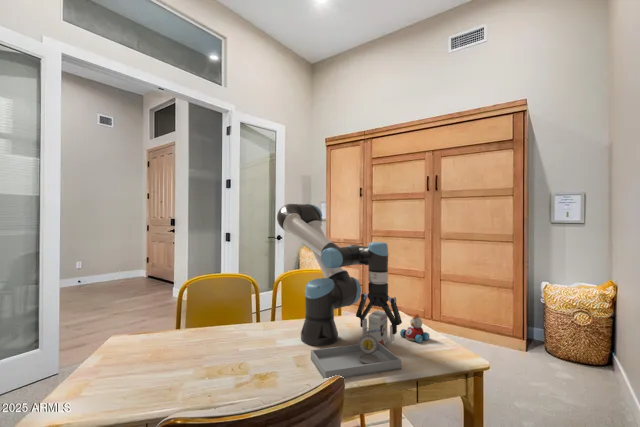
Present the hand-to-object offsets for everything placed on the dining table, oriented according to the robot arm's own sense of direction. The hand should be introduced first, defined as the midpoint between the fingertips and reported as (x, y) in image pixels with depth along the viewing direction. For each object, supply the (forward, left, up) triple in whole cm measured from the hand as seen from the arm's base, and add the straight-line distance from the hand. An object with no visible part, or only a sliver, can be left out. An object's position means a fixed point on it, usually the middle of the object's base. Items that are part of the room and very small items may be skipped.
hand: (378, 338), depth 125 cm
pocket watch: (+3, -16, -2) cm, 16 cm away
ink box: (0, 0, -2) cm, 2 cm away
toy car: (+10, +14, -2) cm, 17 cm away
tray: (0, -20, -2) cm, 20 cm away
